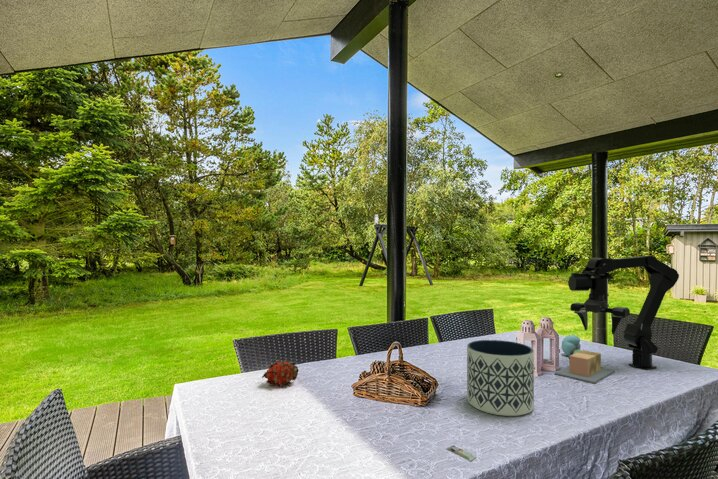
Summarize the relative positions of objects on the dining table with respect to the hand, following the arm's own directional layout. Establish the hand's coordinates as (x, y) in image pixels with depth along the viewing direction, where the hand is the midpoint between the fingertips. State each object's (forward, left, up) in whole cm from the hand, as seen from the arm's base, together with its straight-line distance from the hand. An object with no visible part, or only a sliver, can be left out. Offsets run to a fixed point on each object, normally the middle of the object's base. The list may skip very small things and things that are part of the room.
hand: (599, 332), depth 152 cm
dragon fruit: (+116, -24, -13) cm, 119 cm away
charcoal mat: (+12, +4, -13) cm, 18 cm away
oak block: (+6, +2, -9) cm, 11 cm away
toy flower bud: (-3, -12, -13) cm, 18 cm away
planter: (+60, +15, -13) cm, 63 cm away
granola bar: (+87, +34, -14) cm, 94 cm away
